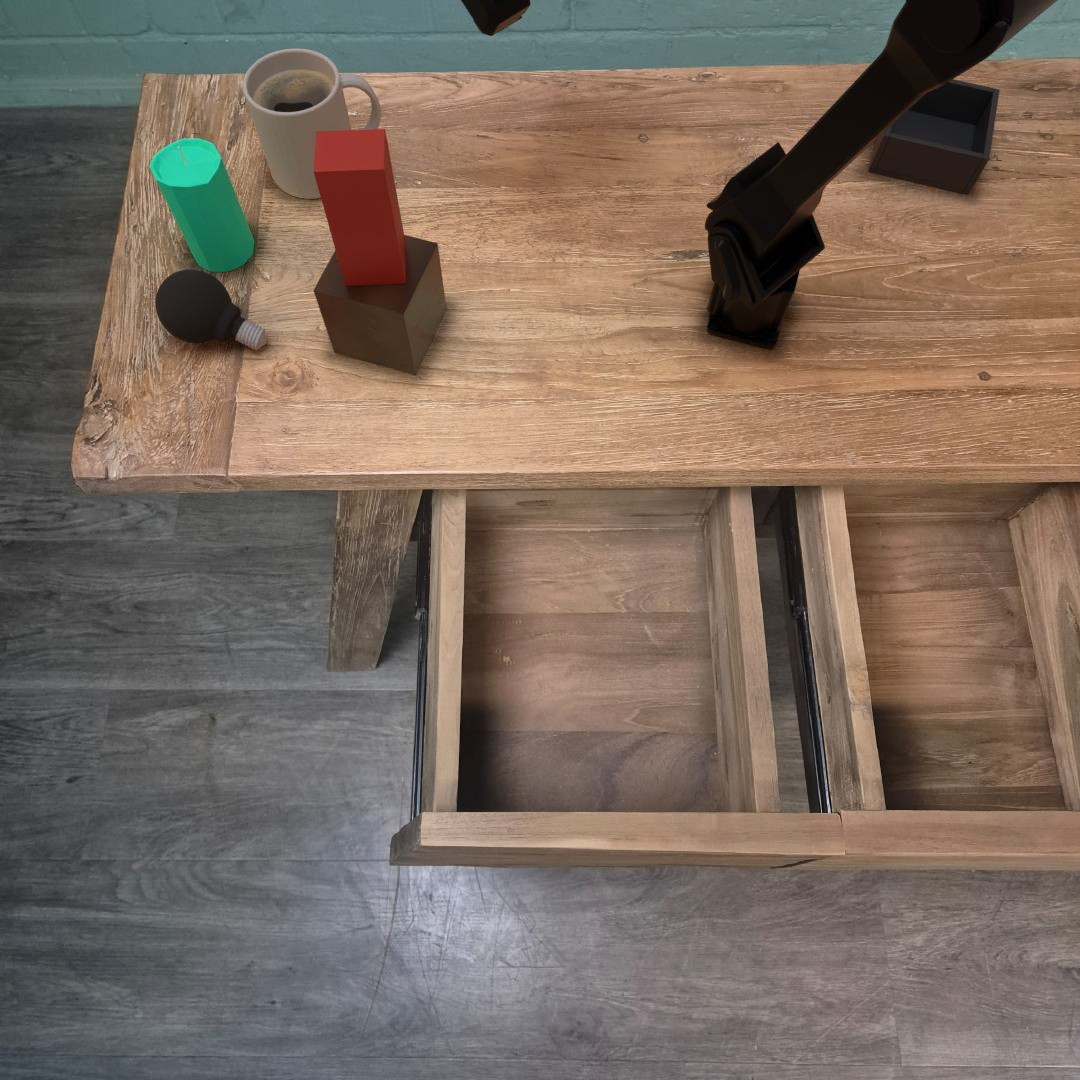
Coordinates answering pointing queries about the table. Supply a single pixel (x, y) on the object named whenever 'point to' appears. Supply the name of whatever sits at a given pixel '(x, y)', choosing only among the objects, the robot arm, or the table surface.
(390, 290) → the dark wooden block
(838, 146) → the robot arm
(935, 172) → the dark gray open box
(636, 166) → the table surface
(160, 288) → the light bulb
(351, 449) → the table surface
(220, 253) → the candle
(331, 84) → the mug
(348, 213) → the red rectangular block
